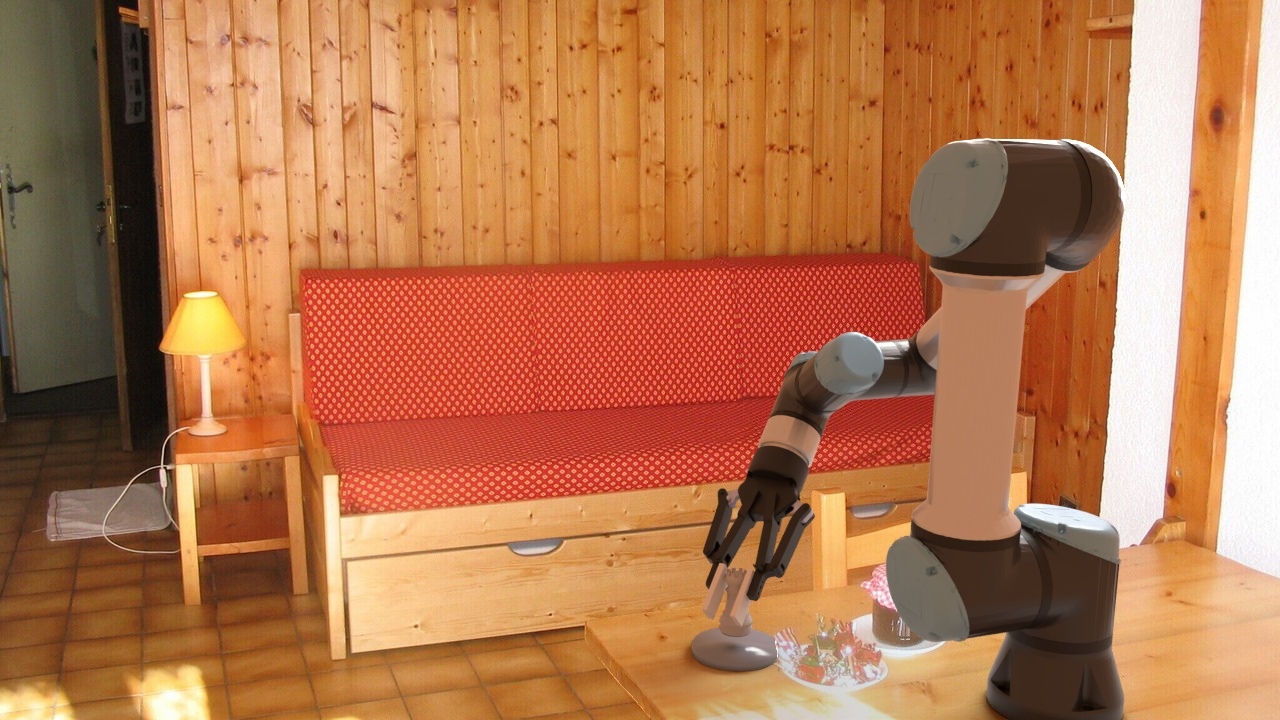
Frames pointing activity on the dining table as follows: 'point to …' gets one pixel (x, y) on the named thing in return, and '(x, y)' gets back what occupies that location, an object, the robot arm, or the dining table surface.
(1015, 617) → the robot arm
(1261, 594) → the dining table surface
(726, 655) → the glossy grey pebble
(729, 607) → the rook chess piece
